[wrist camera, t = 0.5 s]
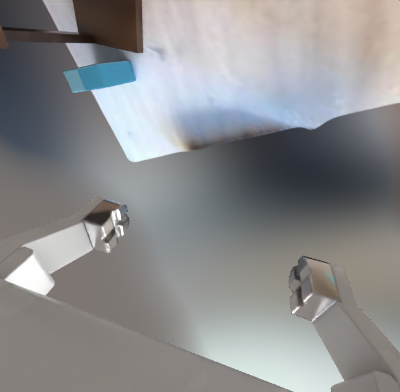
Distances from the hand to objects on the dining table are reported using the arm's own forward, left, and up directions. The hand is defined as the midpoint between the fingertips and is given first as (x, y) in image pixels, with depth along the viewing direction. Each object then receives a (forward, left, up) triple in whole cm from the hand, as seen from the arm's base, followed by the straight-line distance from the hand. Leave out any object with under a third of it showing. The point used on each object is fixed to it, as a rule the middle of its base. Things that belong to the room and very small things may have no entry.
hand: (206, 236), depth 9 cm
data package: (+5, -39, -47) cm, 61 cm away
